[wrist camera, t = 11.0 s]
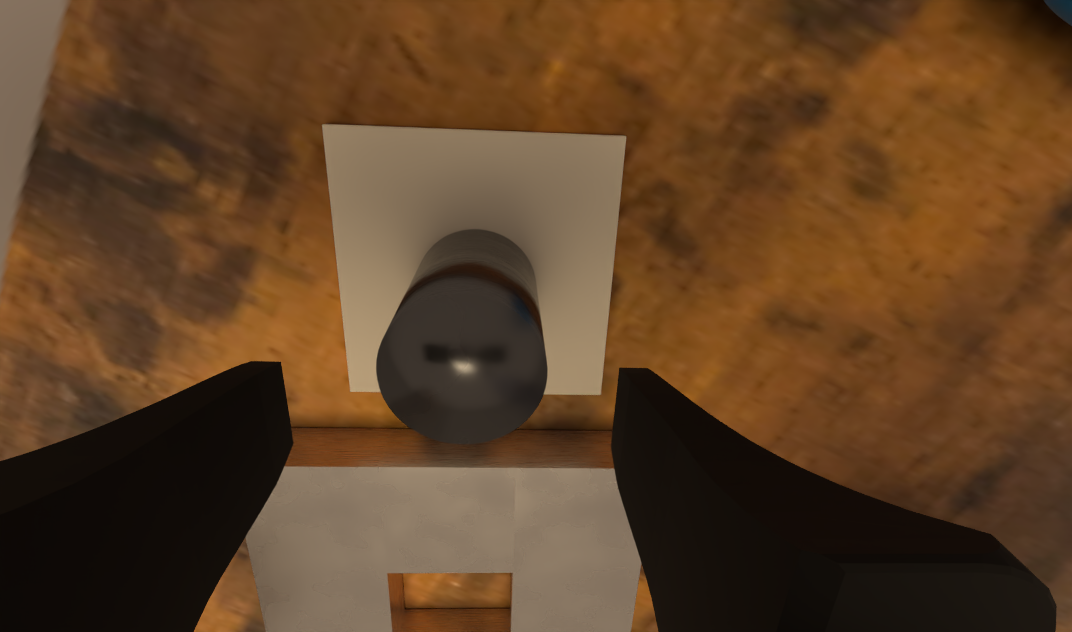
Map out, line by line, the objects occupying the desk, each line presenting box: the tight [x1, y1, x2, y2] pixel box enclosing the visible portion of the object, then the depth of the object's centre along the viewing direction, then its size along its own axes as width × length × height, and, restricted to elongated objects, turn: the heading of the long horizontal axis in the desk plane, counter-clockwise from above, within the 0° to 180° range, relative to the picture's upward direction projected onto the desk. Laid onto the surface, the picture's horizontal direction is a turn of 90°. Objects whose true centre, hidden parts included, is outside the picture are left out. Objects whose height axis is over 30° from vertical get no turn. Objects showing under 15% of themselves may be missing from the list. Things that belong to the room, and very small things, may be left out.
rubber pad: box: [322, 124, 626, 395], centre depth 20 cm, size 10×10×1 cm
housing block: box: [246, 428, 641, 632], centre depth 25 cm, size 16×16×2 cm
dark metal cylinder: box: [376, 229, 548, 444], centre depth 17 cm, size 4×4×6 cm
